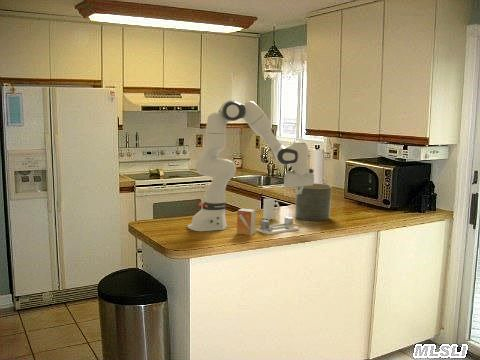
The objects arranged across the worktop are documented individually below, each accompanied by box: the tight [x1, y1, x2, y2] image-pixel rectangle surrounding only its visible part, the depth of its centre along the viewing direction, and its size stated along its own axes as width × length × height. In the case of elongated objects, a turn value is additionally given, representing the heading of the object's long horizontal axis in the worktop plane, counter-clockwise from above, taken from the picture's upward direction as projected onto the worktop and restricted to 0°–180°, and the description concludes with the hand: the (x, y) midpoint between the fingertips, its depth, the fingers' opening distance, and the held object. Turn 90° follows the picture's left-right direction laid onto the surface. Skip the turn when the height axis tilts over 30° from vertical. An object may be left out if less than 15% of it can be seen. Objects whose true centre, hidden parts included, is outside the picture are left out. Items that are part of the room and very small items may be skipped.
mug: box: [262, 198, 280, 221], centre depth 308 cm, size 10×7×12 cm, turn 71°
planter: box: [294, 182, 333, 222], centre depth 315 cm, size 22×22×20 cm
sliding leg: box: [283, 216, 298, 226], centre depth 284 cm, size 3×9×4 cm, turn 35°
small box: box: [236, 208, 256, 236], centre depth 270 cm, size 8×6×13 cm
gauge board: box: [256, 219, 300, 235], centre depth 279 cm, size 22×10×6 cm, turn 125°
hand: (298, 194), depth 287 cm, fingers closed
